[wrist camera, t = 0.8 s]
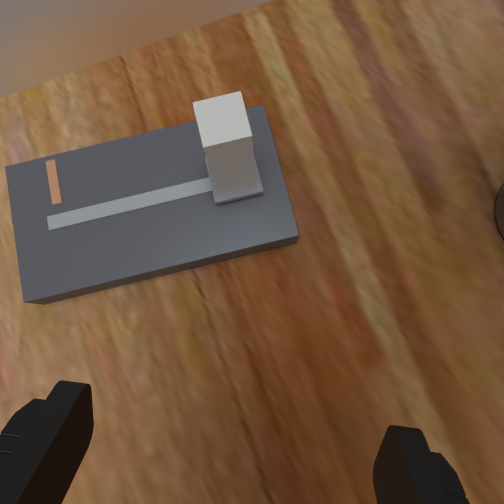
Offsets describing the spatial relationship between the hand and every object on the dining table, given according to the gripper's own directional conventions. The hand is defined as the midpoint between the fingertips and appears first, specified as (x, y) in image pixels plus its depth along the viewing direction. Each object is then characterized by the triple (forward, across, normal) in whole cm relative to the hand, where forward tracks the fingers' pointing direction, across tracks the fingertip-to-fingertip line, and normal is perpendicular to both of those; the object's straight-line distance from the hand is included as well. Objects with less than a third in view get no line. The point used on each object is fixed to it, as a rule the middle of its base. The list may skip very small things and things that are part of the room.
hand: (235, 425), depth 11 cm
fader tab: (+25, +2, 0) cm, 25 cm away
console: (+27, +9, +5) cm, 29 cm away
